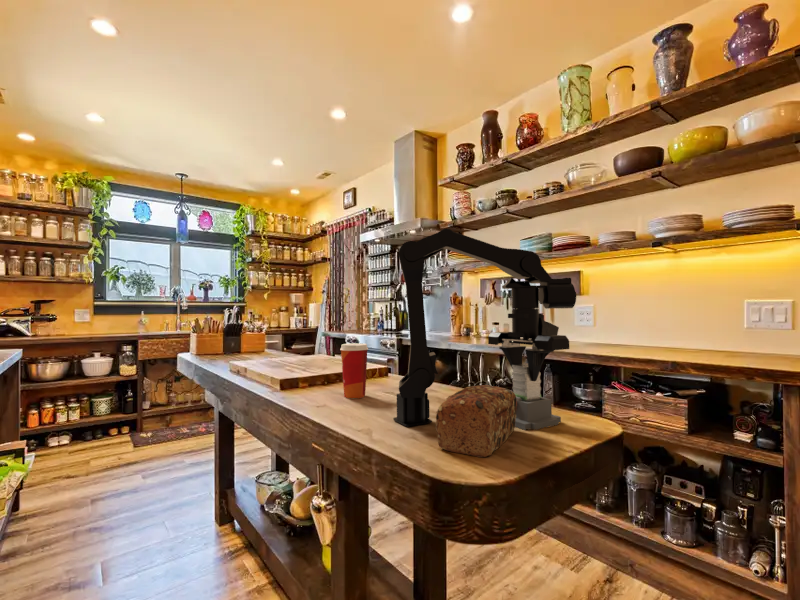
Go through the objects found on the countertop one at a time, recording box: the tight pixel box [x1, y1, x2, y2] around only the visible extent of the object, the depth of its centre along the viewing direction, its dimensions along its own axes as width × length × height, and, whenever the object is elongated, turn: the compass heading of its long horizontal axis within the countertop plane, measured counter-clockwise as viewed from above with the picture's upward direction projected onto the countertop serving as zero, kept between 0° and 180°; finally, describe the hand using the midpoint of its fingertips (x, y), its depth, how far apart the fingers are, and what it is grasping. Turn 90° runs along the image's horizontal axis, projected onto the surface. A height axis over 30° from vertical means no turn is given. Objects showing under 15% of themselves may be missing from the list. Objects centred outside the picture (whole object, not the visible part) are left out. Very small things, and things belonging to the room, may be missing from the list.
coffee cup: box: [339, 342, 369, 399], centre depth 115 cm, size 8×8×15 cm
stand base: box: [515, 396, 562, 431], centre depth 88 cm, size 11×11×6 cm
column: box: [511, 362, 542, 402], centre depth 89 cm, size 5×4×8 cm
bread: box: [435, 384, 517, 458], centre depth 77 cm, size 19×11×10 cm, turn 150°
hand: (526, 379), depth 89 cm, fingers closed on column, 4 cm apart
